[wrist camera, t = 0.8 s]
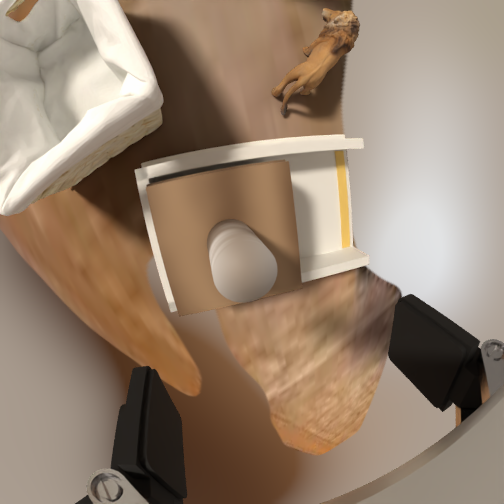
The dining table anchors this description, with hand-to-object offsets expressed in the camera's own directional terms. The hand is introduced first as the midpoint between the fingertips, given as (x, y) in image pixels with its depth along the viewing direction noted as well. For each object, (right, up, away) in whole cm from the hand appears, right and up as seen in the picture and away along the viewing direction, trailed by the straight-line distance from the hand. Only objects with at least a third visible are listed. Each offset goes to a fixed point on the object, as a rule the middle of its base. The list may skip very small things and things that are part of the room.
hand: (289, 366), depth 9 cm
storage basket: (-22, +24, +14) cm, 35 cm away
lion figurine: (+5, +28, +19) cm, 34 cm away
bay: (0, +9, +24) cm, 25 cm away
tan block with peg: (-5, +7, +22) cm, 23 cm away
